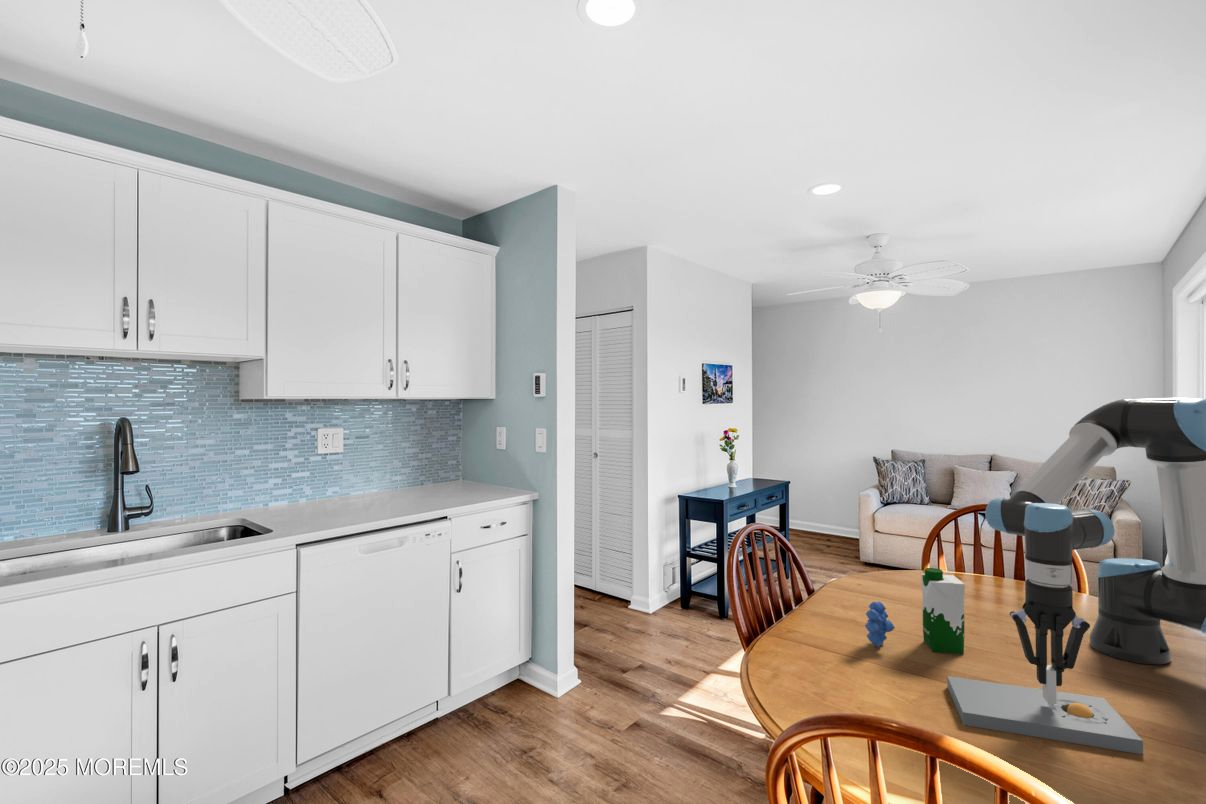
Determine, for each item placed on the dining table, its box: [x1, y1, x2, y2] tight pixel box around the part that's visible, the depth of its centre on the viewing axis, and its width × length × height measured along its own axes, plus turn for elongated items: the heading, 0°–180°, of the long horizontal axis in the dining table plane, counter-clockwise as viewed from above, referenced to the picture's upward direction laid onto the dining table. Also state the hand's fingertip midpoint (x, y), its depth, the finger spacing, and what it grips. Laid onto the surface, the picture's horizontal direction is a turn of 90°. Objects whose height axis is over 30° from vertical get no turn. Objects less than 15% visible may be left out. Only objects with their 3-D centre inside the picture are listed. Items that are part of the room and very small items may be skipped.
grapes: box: [864, 601, 896, 648], centre depth 151 cm, size 12×7×12 cm, turn 139°
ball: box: [1067, 703, 1093, 718], centre depth 114 cm, size 4×4×4 cm
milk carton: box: [920, 567, 966, 655], centre depth 150 cm, size 9×9×20 cm
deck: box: [946, 675, 1144, 755], centre depth 117 cm, size 28×16×2 cm, turn 69°
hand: (1049, 700), depth 116 cm, fingers closed
